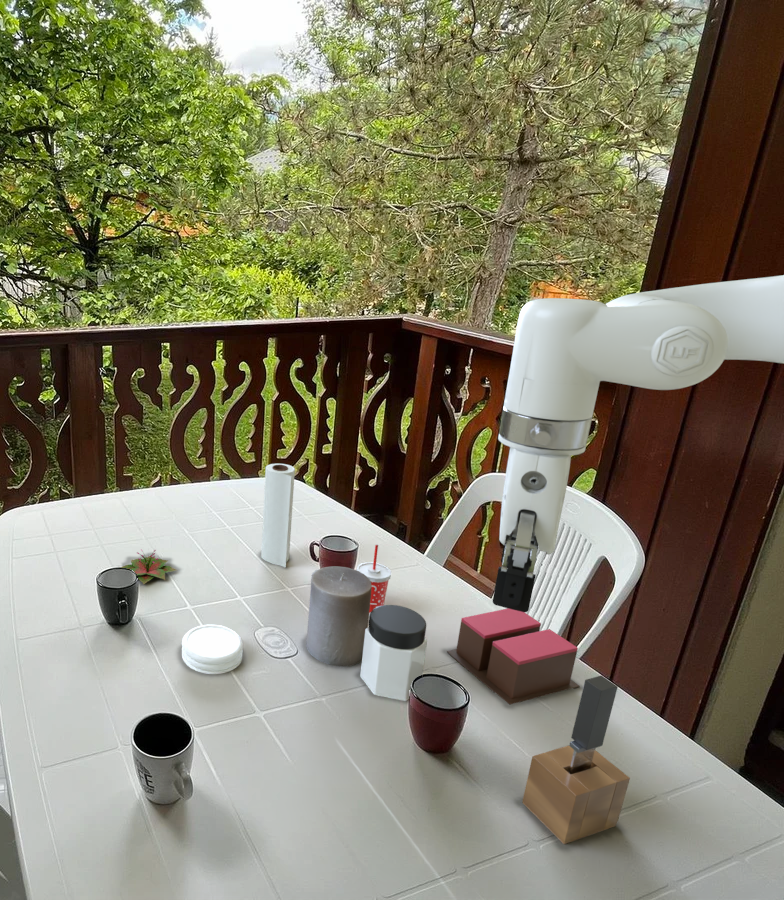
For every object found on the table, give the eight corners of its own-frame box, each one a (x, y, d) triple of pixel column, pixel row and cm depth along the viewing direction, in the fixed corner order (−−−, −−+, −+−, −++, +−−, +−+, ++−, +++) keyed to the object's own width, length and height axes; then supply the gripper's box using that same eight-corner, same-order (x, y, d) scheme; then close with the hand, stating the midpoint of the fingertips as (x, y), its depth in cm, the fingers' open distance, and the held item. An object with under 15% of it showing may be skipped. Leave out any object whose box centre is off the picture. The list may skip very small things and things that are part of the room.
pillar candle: (369, 645, 109) (378, 566, 104) (356, 677, 101) (366, 594, 96) (314, 629, 113) (320, 553, 108) (297, 659, 105) (303, 579, 100)
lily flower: (142, 593, 124) (141, 572, 123) (107, 570, 133) (106, 550, 132) (188, 573, 132) (188, 553, 131) (152, 553, 141) (152, 534, 139)
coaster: (188, 681, 99) (188, 662, 98) (176, 644, 109) (176, 626, 108) (249, 674, 101) (250, 655, 100) (233, 637, 111) (233, 620, 110)
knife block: (570, 791, 80) (583, 740, 77) (614, 831, 74) (630, 778, 72) (520, 808, 78) (532, 755, 75) (562, 850, 72) (576, 795, 70)
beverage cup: (345, 610, 119) (351, 542, 115) (367, 600, 122) (374, 534, 118) (370, 626, 114) (378, 556, 110) (393, 615, 118) (401, 547, 113)
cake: (510, 641, 110) (517, 602, 108) (578, 691, 98) (588, 649, 96) (445, 655, 106) (451, 616, 104) (508, 710, 94) (517, 666, 92)
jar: (381, 661, 105) (388, 597, 101) (428, 685, 99) (437, 618, 95) (350, 685, 99) (357, 618, 95) (398, 712, 93) (407, 642, 89)
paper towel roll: (263, 551, 142) (268, 461, 135) (291, 555, 140) (297, 464, 133) (257, 566, 135) (261, 471, 128) (285, 571, 133) (291, 475, 127)
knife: (572, 802, 77) (605, 674, 71) (587, 816, 75) (622, 685, 70) (549, 810, 76) (581, 680, 70) (564, 824, 74) (597, 692, 68)
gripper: (591, 461, 53) (552, 638, 58) (585, 415, 67) (555, 560, 72) (492, 446, 56) (464, 615, 62) (507, 406, 71) (483, 545, 76)
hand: (513, 585), depth 67 cm, fingers open, 9 cm apart
